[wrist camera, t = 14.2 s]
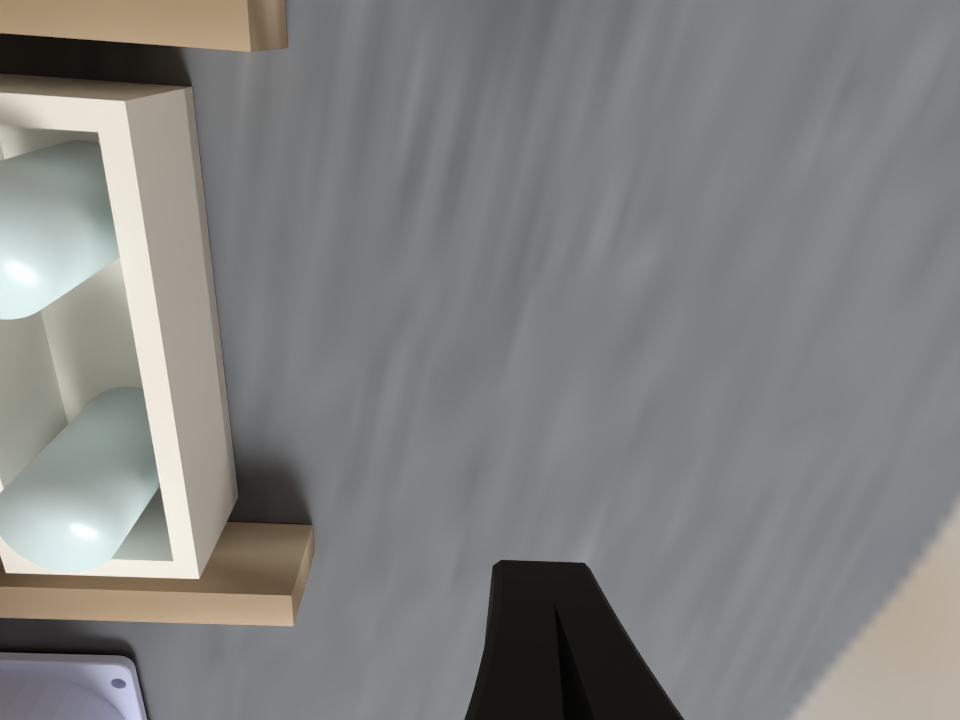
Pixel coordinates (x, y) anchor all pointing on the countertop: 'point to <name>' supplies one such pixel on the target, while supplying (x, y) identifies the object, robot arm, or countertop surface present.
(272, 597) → the light wooden angled piece
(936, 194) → the countertop surface
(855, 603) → the countertop surface
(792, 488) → the countertop surface
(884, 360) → the countertop surface
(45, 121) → the white box
